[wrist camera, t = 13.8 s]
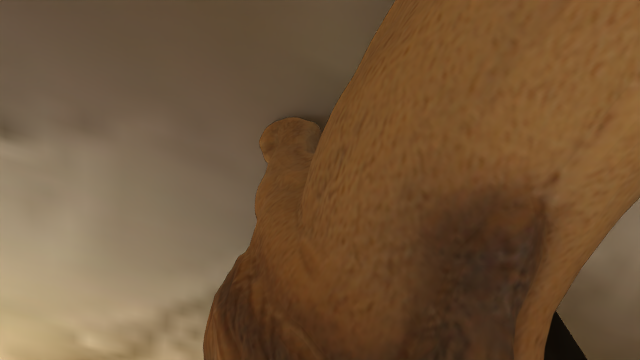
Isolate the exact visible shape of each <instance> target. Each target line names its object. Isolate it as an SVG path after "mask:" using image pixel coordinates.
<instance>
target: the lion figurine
mask: <svg viewBox="0 0 640 360" xmlns="http://www.w3.org/2000/svg"><path fill="white" fill-rule="evenodd" d="M259 143H260V148H261V150H262V152H263V155H264V159H265V161H266V162H267V163H268V166H267V170H266V173H265V175H264V177H263V179H262V181H261V183H260V185H259V186H258V189H257V193H256V198H255V215H256V218H257V223H256V227H255V230H254V233H253V236H252V240H251V243H250V246H249V247H248V249H247V251H246V252H245V253H244V254H242V255H240V256H239V257H238V259H237V260H236V262H235V264H234V266H233V268H232V270H231V271H230V272H229V274H228V275H227V277H226V279H225V281H224V282H223V284H222V285H221V287H220V288H219V290H218V291H217V293H216V295H215V297H214V300H213V304H212V307H211V310H210V314H209V317H208V321H207V326H206V330H205V335H204V343H203V350H204V360H544V351H545V344H546V340H547V336H548V332H549V329H550V325H551V321H552V317H553V314H554V312H555V310H556V309H557V307H558V305H559V304H560V302H561V301H562V299H563V297H564V296H565V294H566V292H567V291H568V289H569V287H570V286H571V284H572V283H573V281H574V279H575V278H576V276H577V274H578V273H579V271H580V270H581V268H582V266H583V265H584V264H585V262H586V261H587V260H588V259H589V257H590V256H591V255H592V253H593V252H594V251H595V249H596V248H597V247H598V245H599V244H600V243H601V241H602V240H603V239H604V238H605V236H606V235H607V234H608V232H609V231H610V230H611V229H612V227H613V226H614V225H615V224H616V222H617V221H618V220H619V219H620V218H621V216H622V215H623V214H624V213H625V212H626V211H627V210H628V209H629V208H630V207H631V206H632V205H633V204H634V203H635V202H636V201H637V200H638V199H639V198H640V0H396V1H395V2H394V4H393V5H392V7H391V8H390V10H389V12H388V13H387V15H386V17H385V18H384V20H383V22H382V24H381V25H380V27H379V29H378V30H377V32H376V34H375V36H374V37H373V39H372V41H371V43H370V45H369V47H368V49H367V51H366V53H365V55H364V57H363V58H362V60H361V62H360V64H359V66H358V68H357V70H356V72H355V74H354V76H353V77H352V79H351V81H350V82H349V84H348V85H347V87H346V88H345V90H344V92H343V93H342V95H341V96H340V98H339V100H338V101H337V103H336V105H335V107H334V109H333V111H332V113H331V115H330V117H329V120H328V122H327V124H326V126H325V128H324V130H323V132H322V135H321V131H320V128H319V126H318V125H317V124H316V123H315V122H311V121H307V120H303V119H301V118H298V117H289V118H285V119H282V120H279V121H276V122H274V123H272V124H271V125H269V126H268V127H267V128H266V129H265V130H264V132H263V134H262V136H261V138H260V140H259Z"/></svg>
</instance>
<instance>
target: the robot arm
mask: <svg viewBox="0 0 640 360" xmlns="http://www.w3.org/2000/svg"><path fill="white" fill-rule="evenodd" d="M544 360H587V358H586V357H585V355H584V354H583V352H582V351H581V349H580V348H579V346H578V345H577V343H576V341H575V340H574V338H573V337H572V335H571V334H570V332H569V331H568V329H567V328H566V326H565V324H564V323H563V321H562V320H561V318H560V317H559V315H558V314H557V312H556V311H555V312H554V314H553V317H552V321H551V325H550V329H549V332H548V336H547V340H546V344H545V351H544Z"/></svg>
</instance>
